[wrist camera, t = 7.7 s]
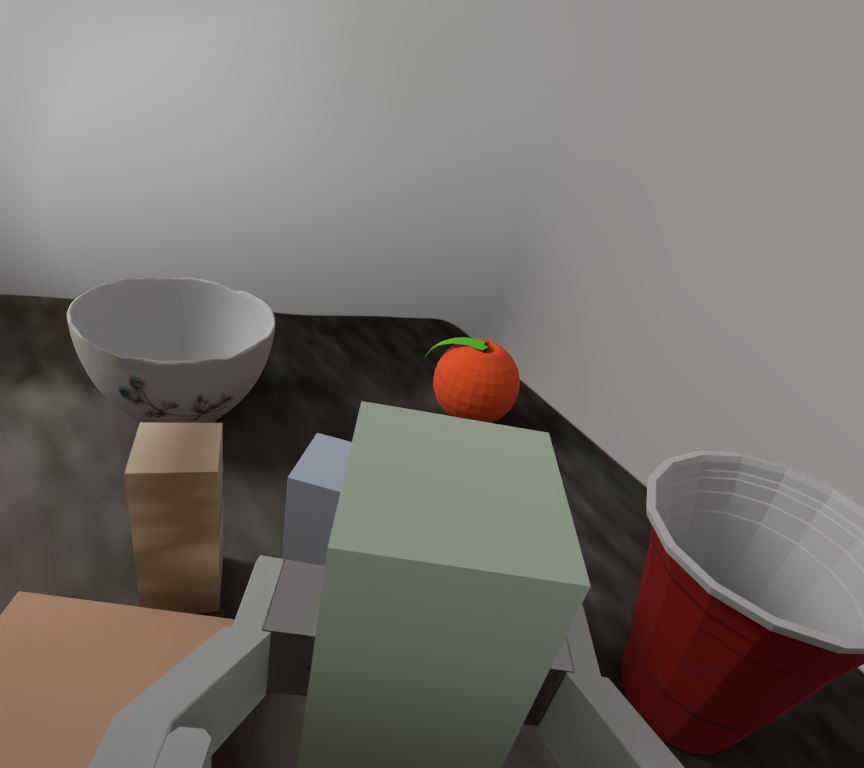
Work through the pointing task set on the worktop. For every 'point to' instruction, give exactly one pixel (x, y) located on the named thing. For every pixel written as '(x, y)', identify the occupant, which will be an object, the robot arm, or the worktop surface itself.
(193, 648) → the terracotta tile
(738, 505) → the plastic cup
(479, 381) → the clementine
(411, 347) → the worktop surface
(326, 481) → the dusty blue post
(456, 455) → the sage green post
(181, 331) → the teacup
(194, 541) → the beech post
